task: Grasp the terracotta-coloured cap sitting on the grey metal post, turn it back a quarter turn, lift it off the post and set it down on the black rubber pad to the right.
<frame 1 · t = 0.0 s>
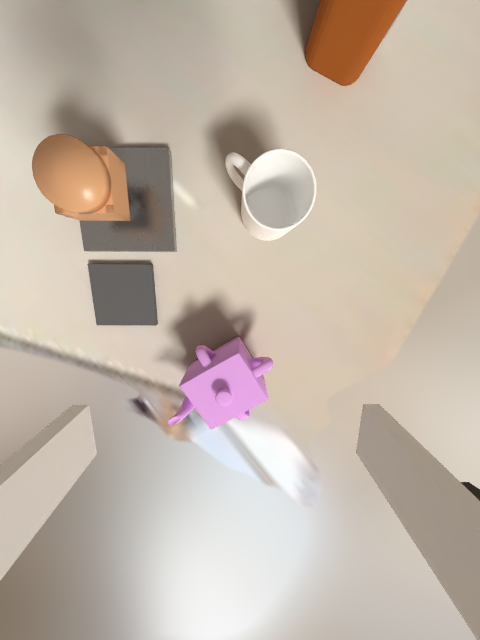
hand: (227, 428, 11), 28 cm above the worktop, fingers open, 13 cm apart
cup: (258, 205, 34), on the worktop
teapot: (222, 366, 40), on the worktop
cap: (101, 192, 29), point 5 cm above the worktop, touching post fixture
orange rounded block: (352, 17, 29), on the worktop
pad: (125, 295, 37), on the worktop
post fixture: (121, 204, 34), on the worktop
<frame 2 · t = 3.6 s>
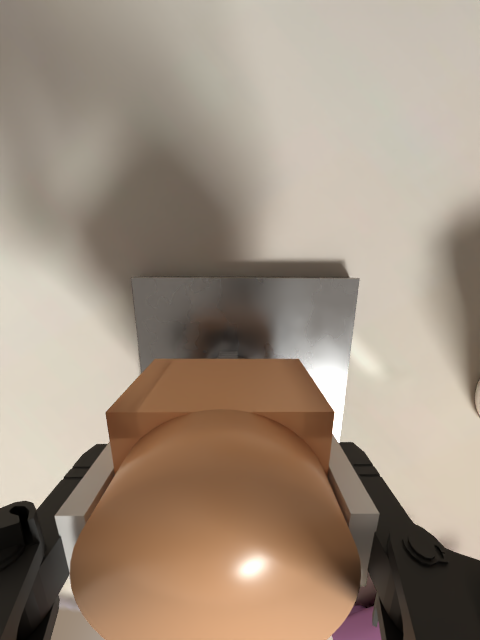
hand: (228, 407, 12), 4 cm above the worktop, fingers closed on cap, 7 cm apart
teapot: (377, 612, 23), on the worktop
cap: (227, 421, 11), point 5 cm above the worktop, touching gripper, post fixture
post fixture: (230, 373, 16), on the worktop
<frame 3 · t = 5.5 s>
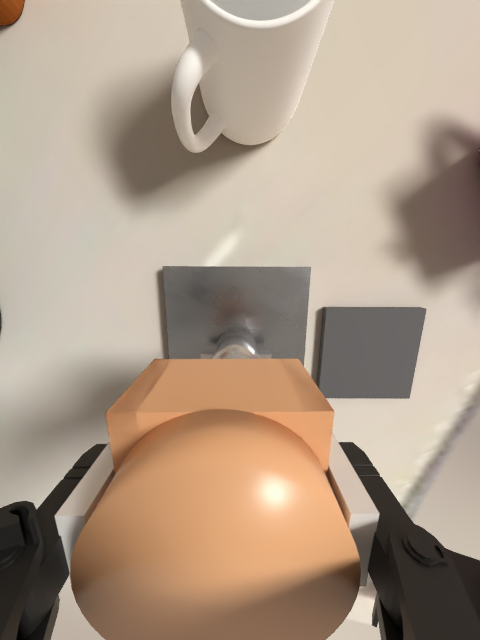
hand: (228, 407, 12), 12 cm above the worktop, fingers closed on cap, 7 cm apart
cup: (237, 115, 19), on the worktop
cap: (227, 421, 11), point 13 cm above the worktop, touching gripper
pad: (365, 352, 24), on the worktop
post fixture: (236, 343, 24), on the worktop
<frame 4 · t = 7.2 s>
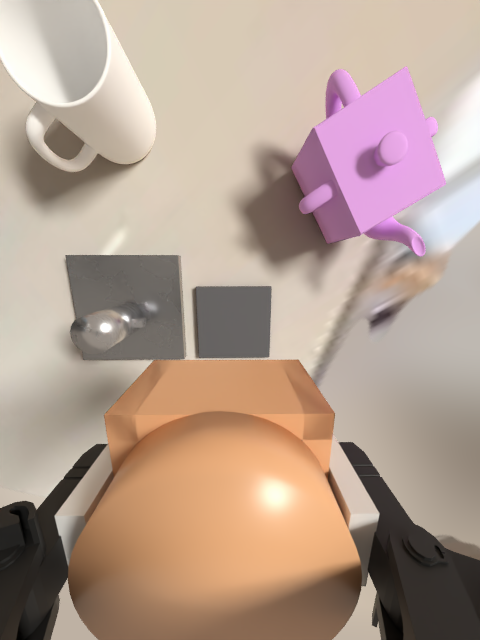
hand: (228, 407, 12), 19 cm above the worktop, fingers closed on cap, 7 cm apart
cup: (114, 141, 26), on the worktop
teapot: (335, 198, 28), on the worktop
cap: (227, 422, 11), point 21 cm above the worktop, touching gripper
pad: (234, 322, 31), on the worktop
post fixture: (133, 315, 31), on the worktop
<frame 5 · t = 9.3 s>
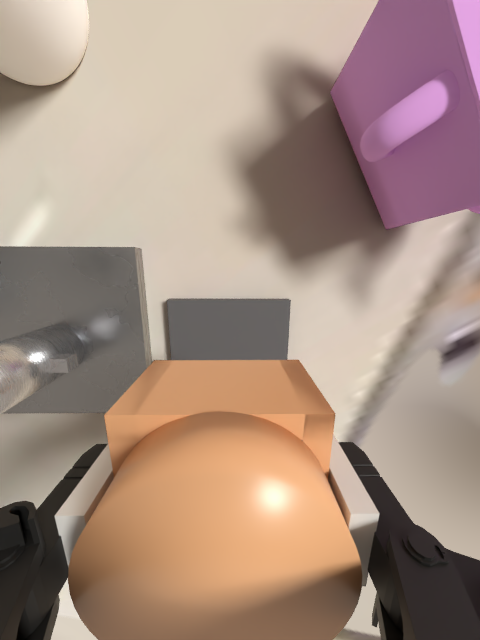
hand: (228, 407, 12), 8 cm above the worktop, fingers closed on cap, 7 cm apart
cup: (18, 45, 15), on the worktop
teapot: (400, 153, 17), on the worktop
cap: (227, 422, 11), point 9 cm above the worktop, touching gripper
pad: (229, 354, 20), on the worktop
post fixture: (69, 343, 19), on the worktop
when the fingers open (2 cm above the worktop, at t = 11.3 s): cap drops 2 cm, resting on pad.
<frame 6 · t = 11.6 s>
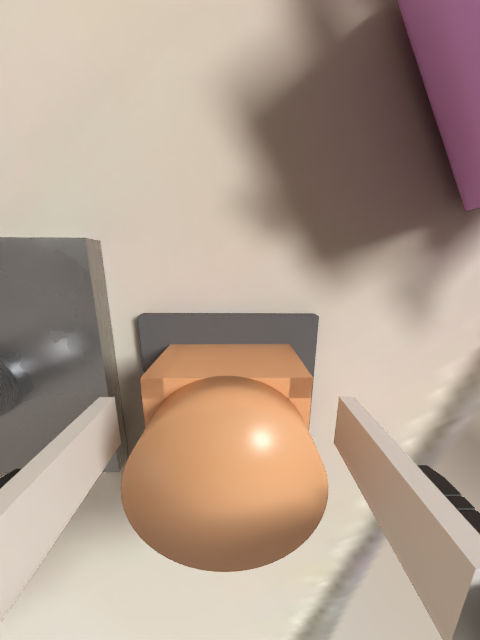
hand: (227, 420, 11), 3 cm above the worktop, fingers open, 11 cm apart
cap: (230, 397, 13), point 1 cm above the worktop, touching pad
pad: (229, 390, 14), on the worktop
post fixture: (4, 375, 14), on the worktop
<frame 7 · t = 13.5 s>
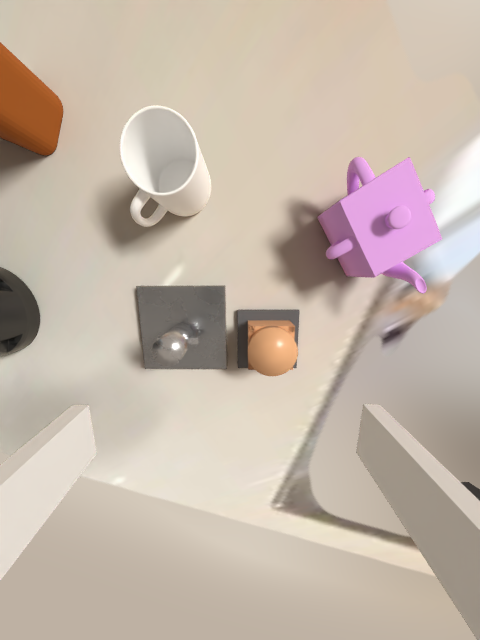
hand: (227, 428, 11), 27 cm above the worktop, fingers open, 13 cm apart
cup: (177, 199, 33), on the worktop
teapot: (353, 239, 34), on the worktop
cap: (268, 340, 37), point 1 cm above the worktop, touching pad
orange rounded block: (11, 108, 31), on the worktop
pad: (267, 338, 38), on the worktop
post fixture: (185, 333, 38), on the worktop
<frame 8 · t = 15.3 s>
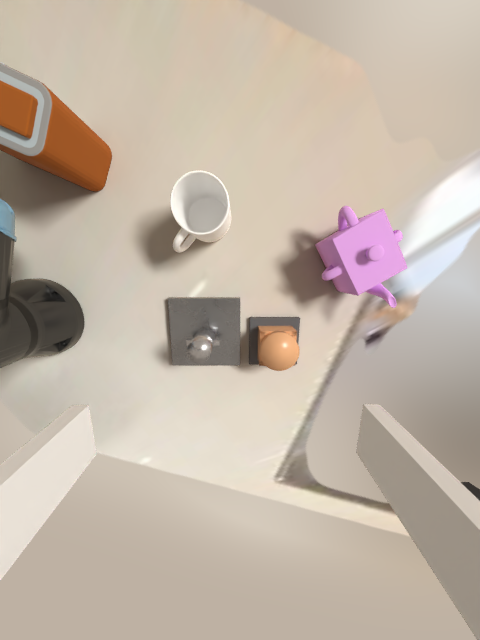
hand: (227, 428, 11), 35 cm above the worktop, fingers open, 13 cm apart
cup: (203, 227, 41), on the worktop
teapot: (343, 261, 43), on the worktop
cap: (274, 341, 45), point 1 cm above the worktop, touching pad
orange rounded block: (68, 153, 38), on the worktop
pad: (273, 340, 46), on the worktop
post fixture: (206, 335, 46), on the worktop
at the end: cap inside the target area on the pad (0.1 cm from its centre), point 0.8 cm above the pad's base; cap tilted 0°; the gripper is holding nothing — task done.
